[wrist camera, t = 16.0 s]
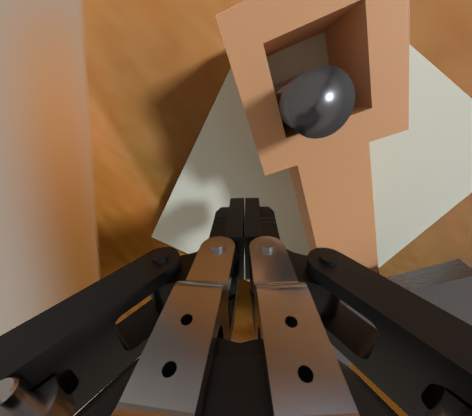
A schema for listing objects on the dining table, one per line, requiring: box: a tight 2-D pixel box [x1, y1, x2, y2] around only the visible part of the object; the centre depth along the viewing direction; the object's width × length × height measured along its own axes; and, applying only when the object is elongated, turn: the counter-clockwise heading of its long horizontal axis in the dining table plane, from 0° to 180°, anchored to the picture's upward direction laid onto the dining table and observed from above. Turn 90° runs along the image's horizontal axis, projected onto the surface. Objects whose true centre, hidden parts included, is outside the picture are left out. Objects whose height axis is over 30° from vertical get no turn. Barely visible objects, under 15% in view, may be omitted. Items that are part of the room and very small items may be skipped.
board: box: [151, 31, 472, 282], centre depth 15 cm, size 18×17×1 cm
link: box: [215, 0, 410, 274], centre depth 12 cm, size 15×6×4 cm, turn 20°
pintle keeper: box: [274, 66, 472, 366], centre depth 13 cm, size 13×16×7 cm
